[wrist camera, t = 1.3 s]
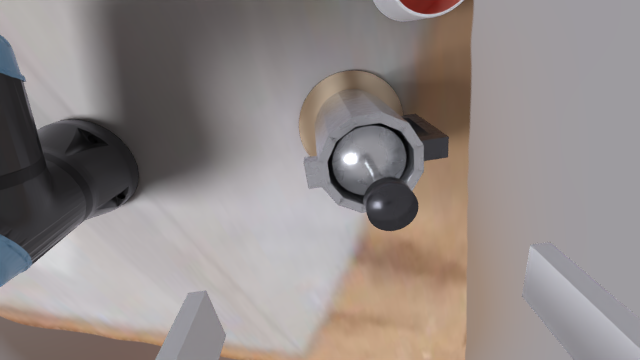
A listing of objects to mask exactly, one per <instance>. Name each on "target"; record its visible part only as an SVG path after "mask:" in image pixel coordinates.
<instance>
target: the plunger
mask: <svg viewBox="0 0 640 360" xmlns="http://www.w3.org/2000/svg"><path fill="white" fill-rule="evenodd" d="M405 164H406V151H405V148H404V145H403V143H402V141H401V140H400V139H399V137H398V136H397V135H396V134H395V133H394V132H393V131H391V130H390V129H388V128H386V127H384V126H381V125H376V124H369V125H363V126H358V127H355V128H353V129H352V130H351V131H349V132H348V133H347V134H345V135H344V136H343V137H341V138H340V139H339V141H338V142H337V144H336V146H335V148H334V151H333V155H332V167H333V172H334V175H335V177H336V179H337V181H338V182H339V183H340V184H341V185H342V186H343V187H344V188H345V189H347V190H348V191H350V192H353V193H355V194H359V195H364V206H365V209H366V212H367V215H368V218H369V220H370V222H371V223H372V224H373V225H374V226H375V227H377V228H378V229H381V230H385V231H394V230H399V229H401V228H404V227H405V226H407V225H408V224H410V223H411V222H412V221H413V219H414V218H415V216H416V214H417V212H418V201H417V198H416V196H415V195H414V193H413V192H412V191H411V189H410V188H409V186H408V185H407V184H406V183H405V182H404V181H403V180H401V179H399V178H400V176H401V175H402V173H403V171H404V168H405Z"/></svg>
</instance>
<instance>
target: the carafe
mask: <svg viewBox="0 0 640 360" xmlns="http://www.w3.org/2000/svg"><path fill="white" fill-rule="evenodd" d="M369 124H376V125H381V126H384V127H386V128H388V129H390V130H391V131H393V132H394V133H395V134H396V135H397V136H398V137H399V139H400V140H401V141H402V143H403V145H404V148H405V151H406V164H405V168H404V171H403V173H402V175H401V176H400V178H399V179H401V180H403V181H404V182H405V183H406V184H407V185H408V186H409V188H410V189H411V191H412V190H413V189H414V187H415V185H416V184H417V182H418V180H419V178H420V177H421V175H422V173H423V171H424V161H426V160H433V159H439V158H446V157H448V139H449V137H448V136H447V135H445V134H444V133H442V132H441V131H440V130H438V129H437V128H435V127H434V126H432V125H431V124H430V123H428V122H427V121H425V120H424V119H422V118H421V117H419V116H418V115H417V114H411V115H404V116H400V115H398V114H397V113H396V112H395V111H394V110H392V109H391V108H390V107H389V106H388V105H386V104H385V103H384V102H383V101H382V100H380V99H379V98H378V97H377V96H374V95H372V94H370V93H368V92H366V91H363V90H360V89H347V90H343V91H340V92H338V93H336V94H334V95H332V96H331V97H329V98H328V99H327V100H326V101H325V102H324V104H323V105H322V106H321V108H320V110H319V112H318V114H317V117H316V121H315V124H314V125H315V138H316V151H317V156H312V157H305V158H304V167H305V172H306V177H307V183H308V188H309V189H310V188H317V187H322V188H323V189H324V190H325V191H326V192H327V193H328V194H329V196H330V197H331V198H332V199H333V200H334V201H335V202H336V203H337V204H338V205H340V206H343V207H346V208H349V209H352V210H355V211H358V212H361V213H364V212H366V209H365V206H364V195H359V194H355V193H353V192H350V191H348V190H347V189H345V188H344V187H343V186H342V185H341V184H340V183H339V182H338V181H337V179H336V177H335V175H334V172H333V167H332V155H333V151H334V148H335V146H336V144H337V142H338V141H339V139H340V138H341V137H343V136H344V135H345V134H347V133H348V132H349V131H351V130H352V129H353V128H355V127H358V126H363V125H369Z"/></svg>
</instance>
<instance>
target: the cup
mask: <svg viewBox="0 0 640 360" xmlns="http://www.w3.org/2000/svg"><path fill="white" fill-rule="evenodd" d="M373 1H374V3H375V5H376V7H377V8H378V9H379V10H380V12H381V13H383V14H384V15H385V16H387V17H388V18H390V19H392V20H395V21H401V22H407V21H414V20H420V19H425V18H431V17H436V16H440V15H443V14H445V13H448V12H449V11H451V10H453V9H454V8H456V7H457V6H458V5H460V4H461V3H462V2H463V1H464V0H373Z"/></svg>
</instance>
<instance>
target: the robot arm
mask: <svg viewBox="0 0 640 360" xmlns="http://www.w3.org/2000/svg"><path fill="white" fill-rule="evenodd" d="M23 82H26V80H25V77H24V76H23V75H21V73H20V70H19V67H18V64H17V61H16V58H15V55H14V52H13V49H12V47H11V45H10V44H9V42H8V41H7V40H6V39H5V38H4V37H3V36H1V35H0V287H1V286H2V285H4V284H5V283H7V282H8V281H9V280H11V279H12V278H14V277H15V276H16V275H18V274H19V273H21V272H24V271H26V270H27V269H28V268H29V267H30V266H31V265H32V264H33V263H35V262H36V261H37V260H38V259H39V258H40V257H42V256H43V255H44V254H45V253H46V252H48V251H49V250H50V249H51V248H52V247H53V246H55V245H56V244H57V243H58V242H59V241H61V240H62V239H63V238H64V237H65V236H66V235H68V234H69V233H70V232H71V231H72V230H74V229H75V228H76V227H77V226H78V225H79V224H81V223H82V222H83V221H84V220H87V219H90V218H93V217H96V216H99V215H102V214H104V213H107V212H110V211H113V210H115V209H117V208H118V207H120V206H121V205H122V204H124V203H125V202H126V201H127V200H128V199H129V198H130V197H131V196H132V195H133V193H134V192H135V190H136V188H137V185H138V168H137V164H136V162H135V159H134V157H133V155H132V154H131V152H130V150H129V149H128V148H127V146H126V145H125V144H124V143H123V142H122V141H121V140H120V139H119V138H118V137H117V136H115V135H114V134H113V133H111V132H110V131H108V130H107V129H105V128H103V127H101V126H99V125H96V124H94V123H91V122H87V121H83V120H62V121H58V122H55V123H52V124H49V125H46V126H44V127H42V128H40V129H39V130H37V129H36V125H35V122H34V118H33V115H32V111H31V108H30V104H29V101H28V97H27V93H26V90H25V86H24V83H23ZM522 297H523V298H524V299H525V301H526V302H527V303H528V304H529V305H530V307H531V308H532V309H533V310H534V312H535V313H536V314H537V315H538V317H539V318H540V319H541V320H542V322H543V323H544V324H545V325H546V326H547V328H548V329H549V330H550V332H551V333H552V334H553V335H554V336H555V338H556V339H557V340H558V341H559V343H560V344H561V345H562V346H563V348H564V349H565V350H566V351H567V353H568V354H569V355H570V356H571V357H572V359H573V360H640V318H639V317H637V316H636V315H635V314H634V313H633V312H632V311H630V310H629V309H628V308H627V307H626V306H625V305H623V304H622V303H621V302H620V301H619V300H618V299H616V298H615V297H614V296H613V295H612V294H611V293H609V292H608V291H607V290H606V289H605V288H604V287H602V286H601V285H600V284H599V283H598V282H597V281H595V280H594V279H593V278H592V277H591V276H590V275H588V274H587V273H586V272H585V271H584V270H582V269H581V268H580V267H579V266H578V265H577V264H576V263H574V262H573V261H572V260H571V259H570V258H568V257H567V256H566V255H565V254H564V253H563V252H562V251H560V250H559V249H558V248H557V247H556V246H555V245H553V244H552V243H551V242H547V243H540V244H533V245H530V250H529V257H528V263H527V270H526V275H525V281H524V288H523V294H522ZM225 337H226V334H225V332H224V330H223V328H222V325H221V323H220V321H219V319H218V316H217V314H216V312H215V310H214V307H213V305H212V303H211V300H210V298H209V296H208V294H207V291H200V292H193V293H188V295H187V297H186V299H185V301H184V303H183V305H182V307H181V309H180V311H179V313H178V315H177V317H176V319H175V321H174V323H173V325H172V327H171V329H170V331H169V333H168V335H167V337H166V339H165V341H164V343H163V345H162V347H161V349H160V351H159V353H158V355H157V357H156V359H155V360H219V357H220V353H221V350H222V347H223V343H224V340H225Z"/></svg>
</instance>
